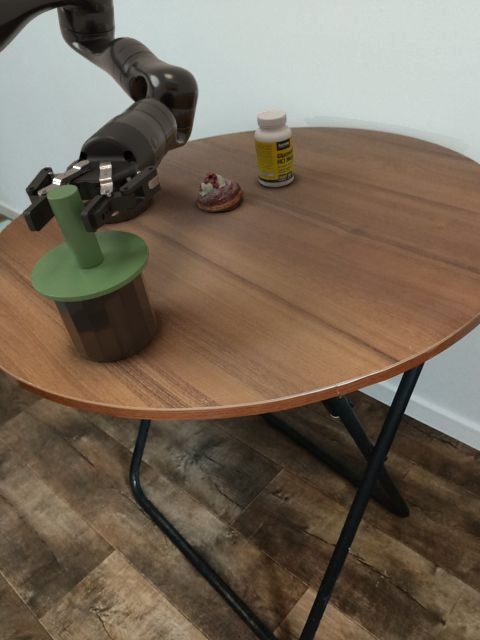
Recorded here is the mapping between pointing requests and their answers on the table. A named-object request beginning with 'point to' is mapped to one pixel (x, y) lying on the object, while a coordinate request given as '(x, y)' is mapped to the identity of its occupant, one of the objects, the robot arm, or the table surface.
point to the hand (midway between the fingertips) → (58, 223)
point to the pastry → (218, 193)
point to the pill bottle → (274, 149)
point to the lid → (85, 255)
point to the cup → (110, 322)
